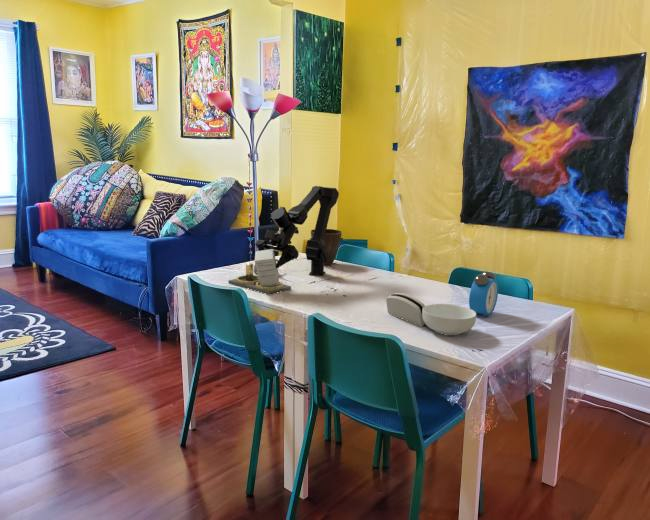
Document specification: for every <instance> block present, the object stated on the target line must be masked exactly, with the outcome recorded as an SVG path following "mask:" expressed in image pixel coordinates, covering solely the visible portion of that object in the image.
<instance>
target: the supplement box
mask: <svg viewBox="0 0 650 520" xmlns="http://www.w3.org/2000/svg"><path fill="white" fill-rule="evenodd" d="M275 255H276V254H275V251H274V250H273V249H269V250H262V251H259V250H257V251H255V254H254V263H255V264H254V266H255V265H256V269H257V276H258V277H259V281H260V285H261V286H264V287H267V286H274V285H279V282H280V272H279V268H276V264H277V261H276V256H275Z"/></svg>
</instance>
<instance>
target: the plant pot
mask: <svg viewBox="0 0 650 520" xmlns="http://www.w3.org/2000/svg"><path fill="white" fill-rule="evenodd" d="M314 231H315V228H314V229H311V230H310V240H311V239H312V238H313V235H314ZM342 233H343V232H342V231H341V230H339V229H333V228H332V229H330V228H327V229H326V233H325V237H324V242H325V245H326V249H325V251H326V252H327V254H328V255H329V260H328V261H327V262H324V266H332V265H333V263H334V262H335V260H336V257H337V255H338V254H337V253H338V250H339V247H340V243H341V239H342ZM331 264H332V265H331Z"/></svg>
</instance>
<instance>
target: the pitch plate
mask: <svg viewBox="0 0 650 520" xmlns="http://www.w3.org/2000/svg"><path fill="white" fill-rule="evenodd" d="M228 284H229V285H233V286H237V287H241V288H243V287H245V289H247V288H249V289H248V290H250V289H252V290H251V291H254V290H256V291H255V292H257V291H259V292H258V293H261V292H262V294H264V293H266V294H265V295H268V294H271V295H274V294H273V293H275V294H278V293H277V292H279V293H281V292H280V291H282V292H285V290H286V291H290V290H292V286H291V285H288V284H284V282H283V281H279V285H274V286H267V287H264V286H261V285H260V281H259V277H258V275H254V263H252V262H249V263H246V264H245V275H240V276H236V278H234V279H230V280H229V279H228ZM289 289H290V290H289Z"/></svg>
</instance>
